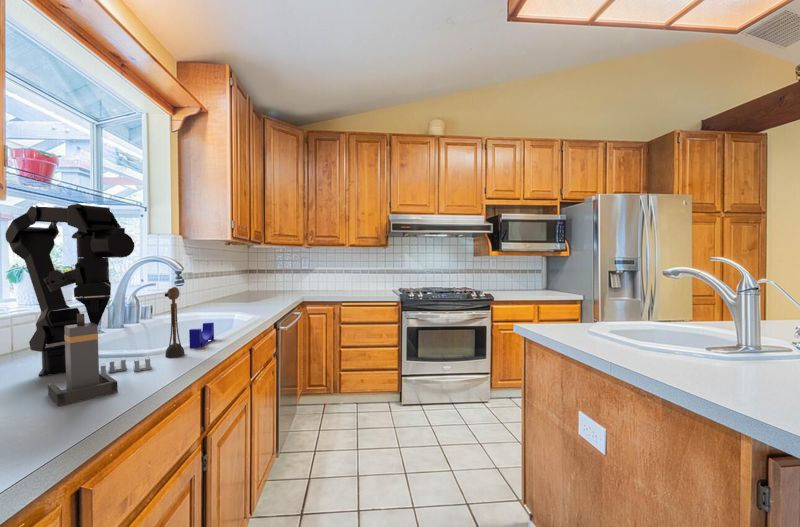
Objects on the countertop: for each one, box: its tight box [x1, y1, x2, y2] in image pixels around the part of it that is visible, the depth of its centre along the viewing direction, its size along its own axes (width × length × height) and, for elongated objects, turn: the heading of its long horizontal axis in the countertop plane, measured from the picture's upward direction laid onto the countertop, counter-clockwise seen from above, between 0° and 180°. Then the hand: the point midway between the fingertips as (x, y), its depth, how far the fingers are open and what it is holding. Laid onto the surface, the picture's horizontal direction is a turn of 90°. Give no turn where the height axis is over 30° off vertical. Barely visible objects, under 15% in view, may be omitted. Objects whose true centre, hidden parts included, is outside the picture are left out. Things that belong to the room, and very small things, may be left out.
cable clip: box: [188, 322, 215, 349], centre depth 123 cm, size 12×4×6 cm, turn 7°
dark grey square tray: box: [47, 373, 119, 407], centre depth 79 cm, size 10×10×2 cm
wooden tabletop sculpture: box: [164, 286, 185, 359], centre depth 108 cm, size 6×5×20 cm
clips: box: [99, 355, 152, 375], centre depth 95 cm, size 7×13×3 cm, turn 128°
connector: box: [64, 313, 100, 391], centre depth 79 cm, size 5×5×16 cm
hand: (95, 323), depth 89 cm, fingers open, 9 cm apart
